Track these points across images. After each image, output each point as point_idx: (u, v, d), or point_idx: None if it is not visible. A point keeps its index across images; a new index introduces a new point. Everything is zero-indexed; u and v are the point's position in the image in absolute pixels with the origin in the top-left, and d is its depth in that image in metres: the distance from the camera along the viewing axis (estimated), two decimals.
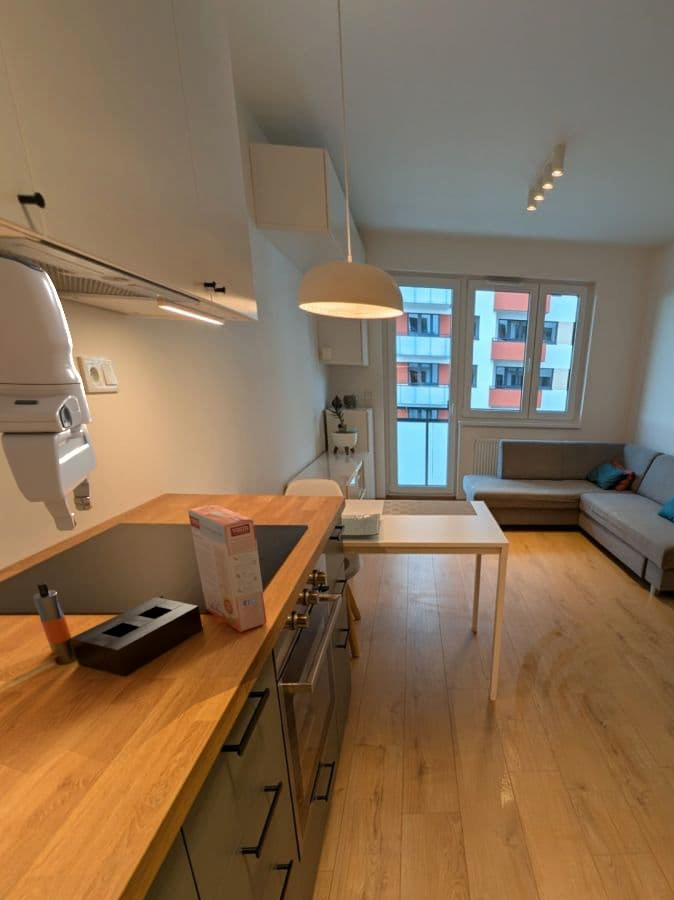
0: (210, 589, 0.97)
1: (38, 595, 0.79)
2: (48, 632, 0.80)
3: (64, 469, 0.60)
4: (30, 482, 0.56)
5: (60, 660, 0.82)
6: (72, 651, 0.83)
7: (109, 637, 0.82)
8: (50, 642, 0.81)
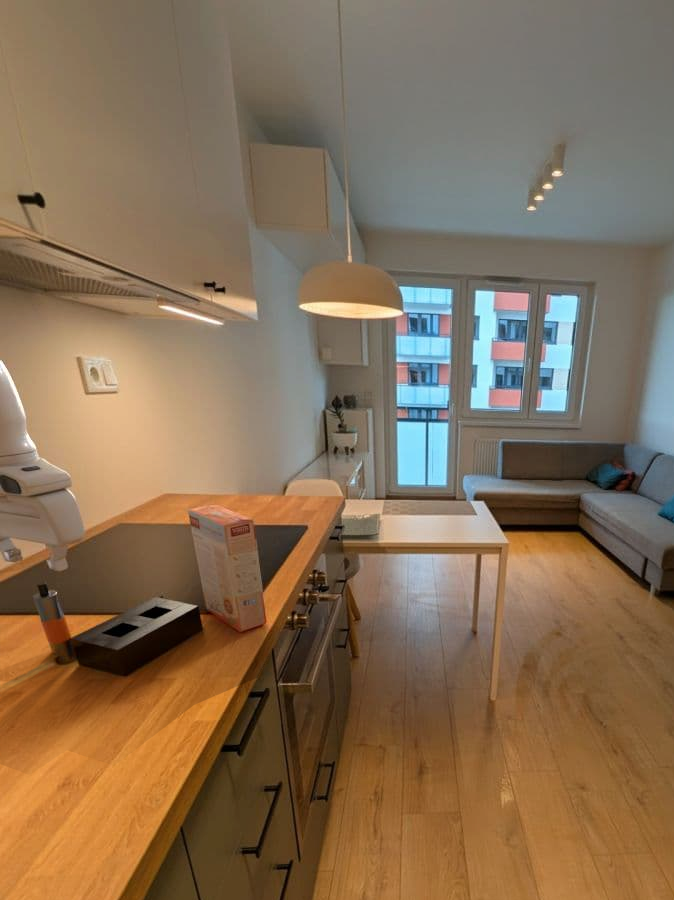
0: (210, 589, 0.97)
1: (38, 595, 0.79)
2: (48, 632, 0.80)
3: None
4: (67, 530, 0.71)
5: (60, 660, 0.82)
6: (72, 651, 0.83)
7: (109, 637, 0.82)
8: (50, 642, 0.81)
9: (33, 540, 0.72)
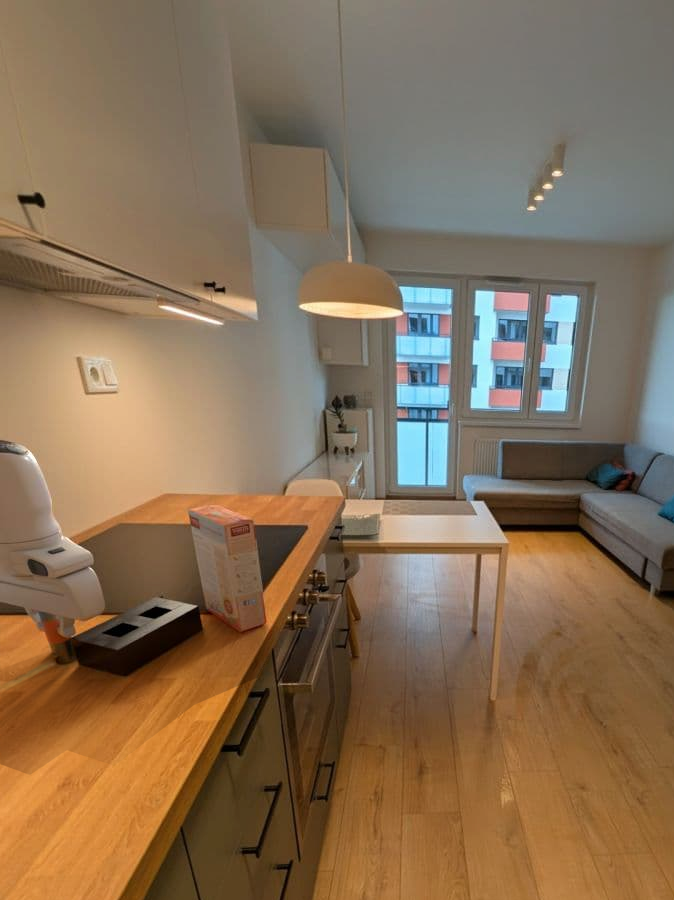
0: (210, 589, 0.97)
1: None
2: (48, 632, 0.80)
3: None
4: (89, 606, 0.76)
5: (60, 660, 0.82)
6: (72, 651, 0.83)
7: (109, 637, 0.82)
8: (50, 642, 0.81)
9: (56, 614, 0.77)
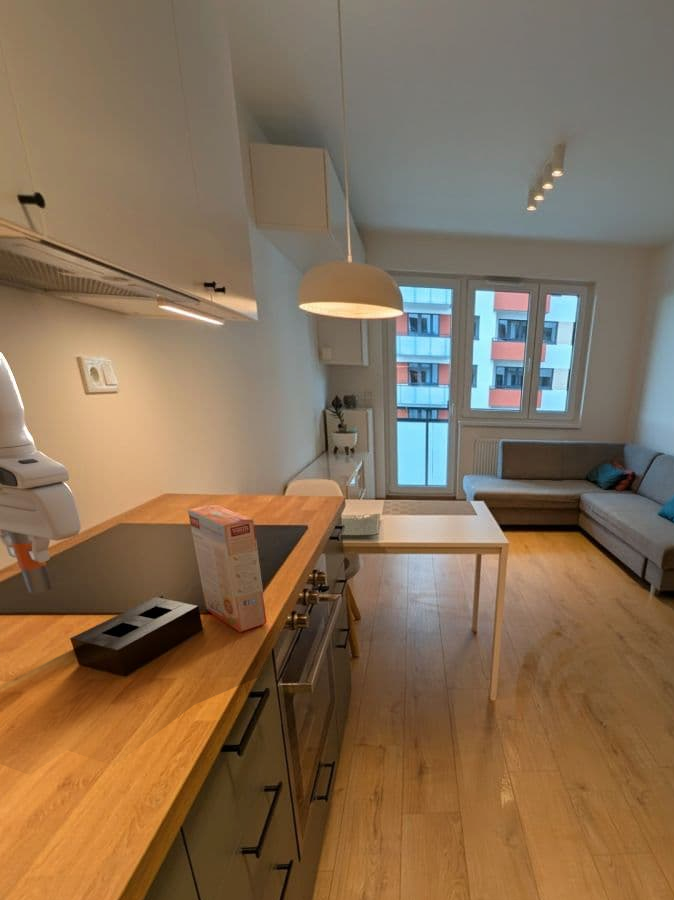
0: (210, 589, 0.97)
1: None
2: (19, 556, 0.75)
3: None
4: (63, 524, 0.70)
5: (33, 588, 0.77)
6: (46, 580, 0.78)
7: (109, 637, 0.82)
8: (22, 568, 0.75)
9: (28, 533, 0.72)
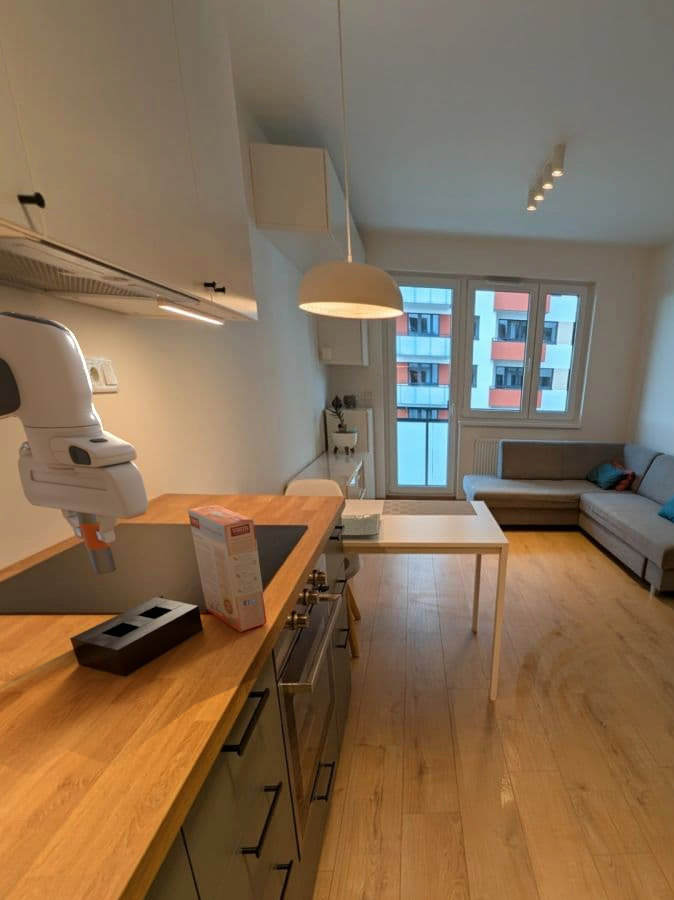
0: (210, 589, 0.97)
1: None
2: (87, 536, 0.75)
3: None
4: (133, 502, 0.71)
5: (99, 569, 0.78)
6: (111, 560, 0.78)
7: (109, 637, 0.82)
8: (88, 548, 0.76)
9: (97, 513, 0.72)
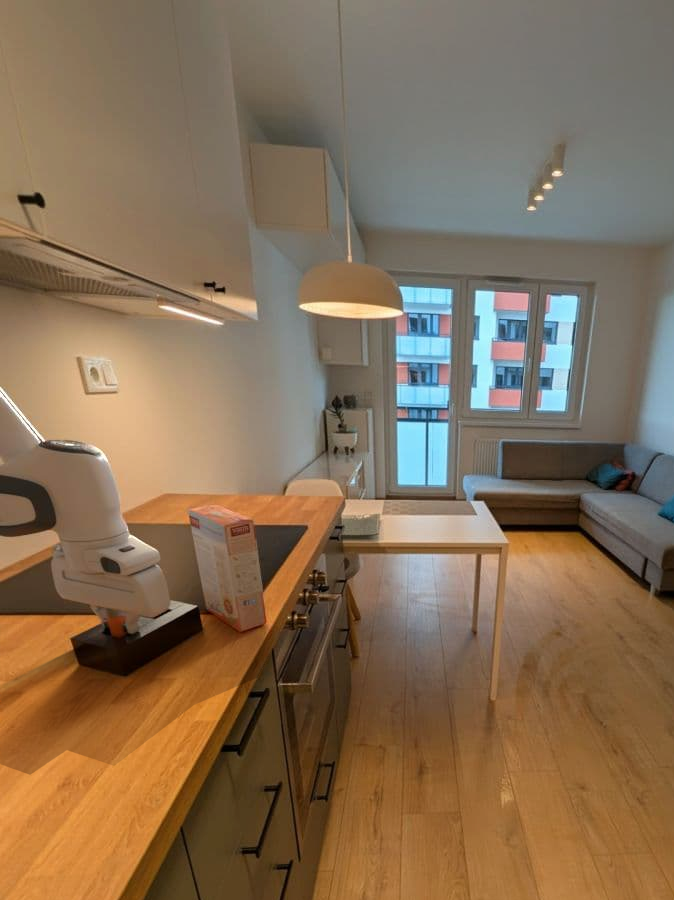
0: (210, 589, 0.97)
1: None
2: (113, 628, 0.82)
3: None
4: (157, 603, 0.78)
5: None
6: None
7: (109, 637, 0.82)
8: None
9: (124, 610, 0.79)
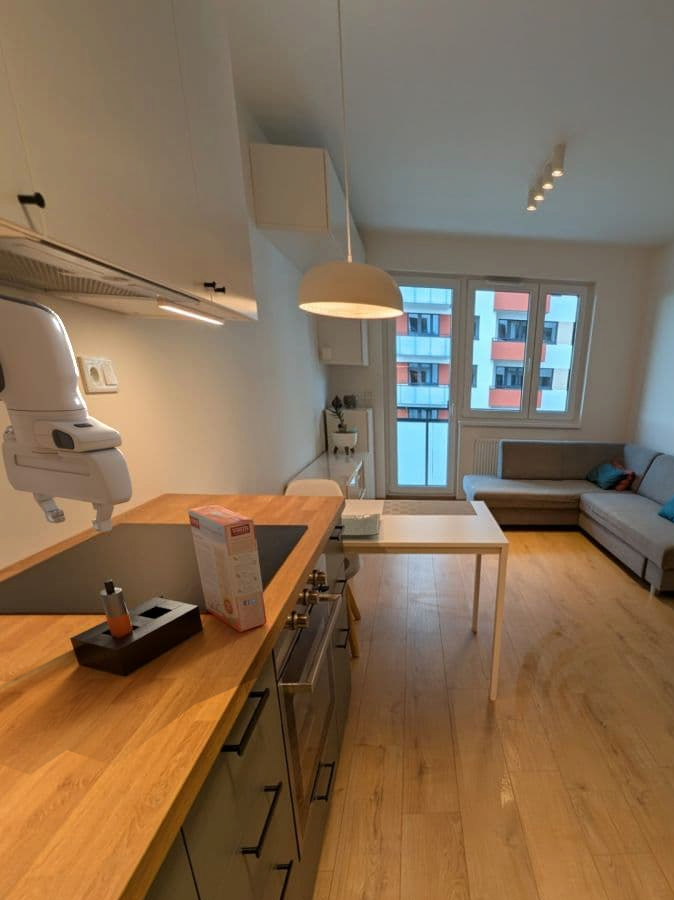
0: (210, 589, 0.97)
1: (104, 592, 0.80)
2: (113, 628, 0.82)
3: None
4: (116, 488, 0.70)
5: None
6: None
7: (109, 637, 0.82)
8: None
9: (80, 499, 0.72)
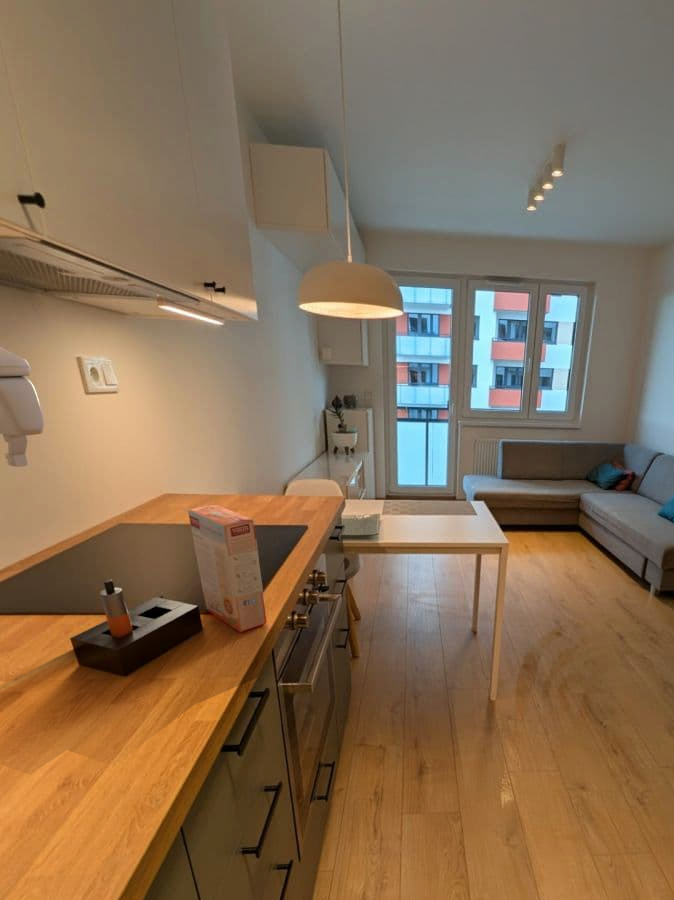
0: (210, 589, 0.97)
1: (104, 592, 0.80)
2: (113, 628, 0.82)
3: None
4: (25, 418, 0.69)
5: None
6: None
7: (109, 637, 0.82)
8: None
9: None
